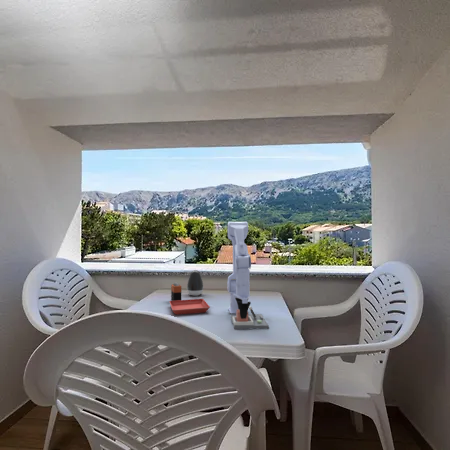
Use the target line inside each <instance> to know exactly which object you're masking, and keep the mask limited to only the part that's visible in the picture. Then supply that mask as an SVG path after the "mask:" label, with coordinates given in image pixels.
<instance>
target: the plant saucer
mask: <svg viewBox="0 0 450 450" xmlns="http://www.w3.org/2000/svg"><path fill="white" fill-rule="evenodd" d="M169 304H170V307H171V311H172V312H173V313H174V315H175V316H177V315H188V314H189V315H191V314H192V315H193V314H203V313H207V312H208V310H209V309H210V308H211V306H210V305H209V304H208V302H207V301H205V299H204V298H191V299H181V300H177V301H172V300H170V301H169Z"/></svg>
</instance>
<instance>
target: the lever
mask: <svg viewBox="0 0 450 450" xmlns="http://www.w3.org/2000/svg"><path fill="white" fill-rule="evenodd" d="M248 311H250V314H252V315H253V317H254V319H255V320H256V319H257V318H256V316H255V314H256V313H255V311H254V310H253V307H252V306H251V305H250V306H249V308H248Z"/></svg>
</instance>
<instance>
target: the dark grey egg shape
mask: <svg viewBox="0 0 450 450" xmlns="http://www.w3.org/2000/svg"><path fill="white" fill-rule="evenodd" d="M187 279H188V281H187V285H186V290H187V293H188V294H189V295H190V296H194V297H196V296H200V295H201V294H203V291H204V281H203V277H202V275H201V273H200V271H198V269H197V270H196V269H195V270H191V272H190V274H189V277H188V278H187Z"/></svg>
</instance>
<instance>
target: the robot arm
mask: <svg viewBox="0 0 450 450" xmlns="http://www.w3.org/2000/svg"><path fill="white" fill-rule="evenodd" d="M248 233H249V224H248V222H247V221H228V222H227V238H228V240H230V241H231V243H232V244H231V245H232V273H231V274H230V275H229V276H228V277H227V283H226V284H227V285H226V287H227V292H228V293H229V296H230V297H229V303H230V304H229V306H228V312H229V314H230V315H236V310H240V316H241V319H246V317H247V312H248V313H249V306H251V304H252V303H251V301H248V300H249V298H250V296H251V293H250V287H251V286H250V284H251V283H250V280H251V279H250V275H251V273H250V271H251V269H252V268H251V267H252V258H251V255H250V254H249V250H248V245H247V244H246V243H245V239H246V238H247V236H248Z"/></svg>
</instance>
